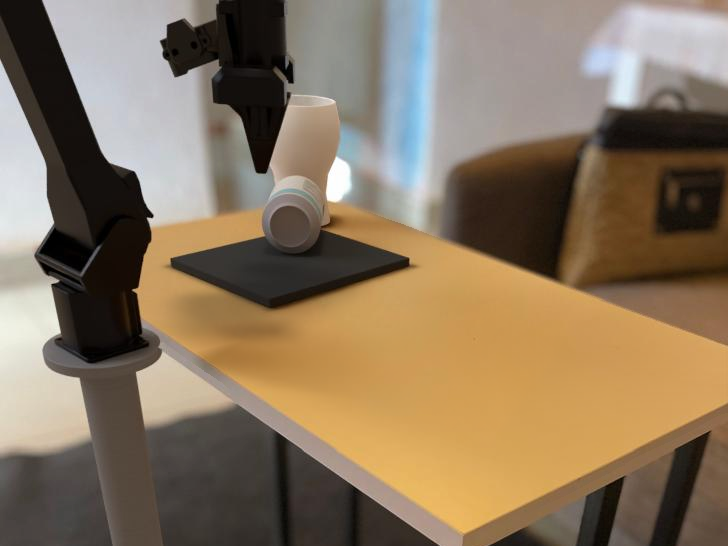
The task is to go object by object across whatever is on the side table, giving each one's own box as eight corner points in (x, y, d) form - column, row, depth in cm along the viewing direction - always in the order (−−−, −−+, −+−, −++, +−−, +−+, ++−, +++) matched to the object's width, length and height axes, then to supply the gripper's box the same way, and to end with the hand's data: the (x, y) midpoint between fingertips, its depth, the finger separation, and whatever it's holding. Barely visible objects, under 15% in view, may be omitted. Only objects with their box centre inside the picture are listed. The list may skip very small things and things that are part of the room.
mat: (270, 308, 89) (269, 298, 88) (170, 266, 98) (169, 258, 98) (409, 265, 102) (409, 257, 102) (310, 232, 112) (310, 225, 111)
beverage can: (275, 264, 101) (284, 235, 110) (328, 245, 99) (333, 218, 109) (250, 207, 97) (263, 183, 107) (306, 187, 96) (313, 164, 105)
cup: (255, 228, 112) (247, 103, 104) (273, 208, 121) (268, 91, 112) (333, 234, 112) (332, 109, 103) (346, 213, 120) (346, 97, 112)
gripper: (179, -22, 82) (194, 151, 91) (140, -15, 67) (163, 191, 76) (293, -15, 83) (296, 155, 92) (281, -7, 68) (286, 196, 77)
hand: (261, 173), depth 84 cm, fingers closed
